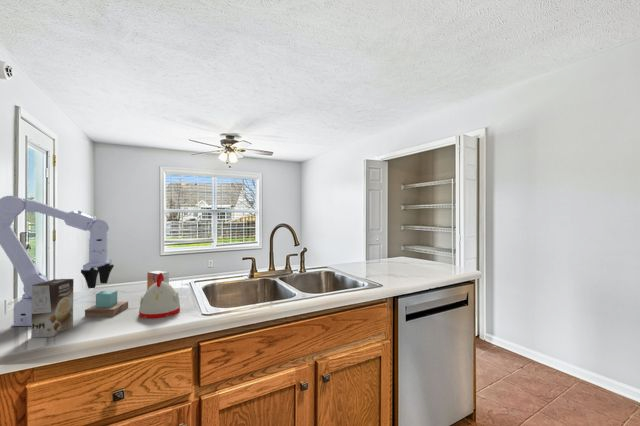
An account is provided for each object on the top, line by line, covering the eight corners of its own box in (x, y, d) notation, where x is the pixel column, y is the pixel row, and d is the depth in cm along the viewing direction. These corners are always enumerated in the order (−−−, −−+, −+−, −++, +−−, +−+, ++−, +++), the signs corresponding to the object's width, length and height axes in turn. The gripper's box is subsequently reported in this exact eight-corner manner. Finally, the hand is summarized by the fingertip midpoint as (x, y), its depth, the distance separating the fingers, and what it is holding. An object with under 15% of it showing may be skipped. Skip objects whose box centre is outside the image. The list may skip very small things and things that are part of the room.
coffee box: (53, 337, 95) (53, 285, 95) (30, 338, 94) (30, 285, 94) (73, 326, 104) (74, 278, 104) (53, 326, 103) (53, 278, 103)
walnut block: (113, 317, 114) (113, 309, 114) (84, 318, 113) (84, 309, 113) (128, 308, 124) (128, 301, 124) (101, 309, 123) (101, 301, 123)
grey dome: (134, 320, 110) (134, 278, 110) (144, 308, 124) (145, 270, 123) (176, 317, 114) (176, 276, 114) (182, 305, 127) (182, 269, 127)
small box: (146, 294, 143) (146, 272, 143) (158, 292, 148) (158, 270, 148) (157, 297, 139) (158, 273, 139) (169, 294, 144) (169, 271, 144)
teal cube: (109, 307, 116) (110, 294, 116) (95, 307, 116) (95, 294, 116) (117, 303, 121) (117, 290, 121) (103, 303, 121) (103, 290, 121)
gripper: (97, 253, 113) (97, 290, 113) (119, 248, 128) (119, 281, 128) (77, 253, 112) (76, 290, 112) (101, 248, 127) (100, 281, 127)
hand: (97, 285), depth 120 cm, fingers open, 7 cm apart
